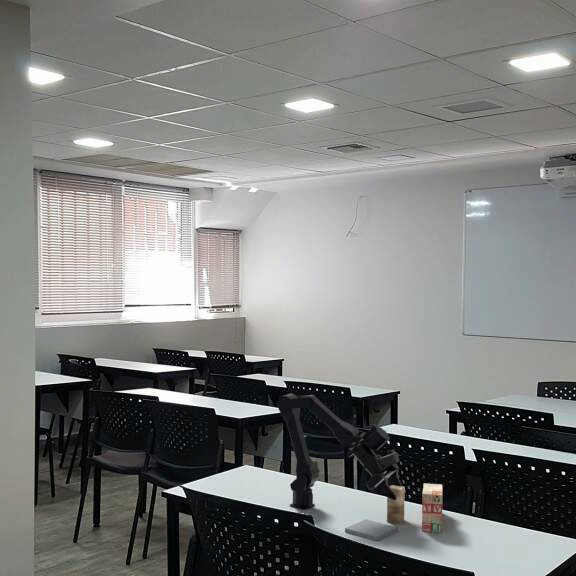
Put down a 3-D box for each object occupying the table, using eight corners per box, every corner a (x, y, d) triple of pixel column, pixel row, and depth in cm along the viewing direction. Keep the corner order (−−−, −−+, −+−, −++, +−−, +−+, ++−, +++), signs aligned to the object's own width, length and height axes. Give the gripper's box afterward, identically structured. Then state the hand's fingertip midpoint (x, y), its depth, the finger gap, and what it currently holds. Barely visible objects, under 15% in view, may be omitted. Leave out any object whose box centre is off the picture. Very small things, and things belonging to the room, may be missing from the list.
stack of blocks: (423, 511, 248) (424, 476, 248) (442, 513, 247) (442, 477, 247) (421, 531, 227) (422, 492, 228) (441, 533, 226) (442, 494, 226)
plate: (344, 532, 226) (345, 528, 226) (366, 522, 235) (366, 519, 235) (377, 540, 218) (377, 536, 218) (398, 531, 227) (398, 527, 227)
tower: (386, 521, 237) (387, 488, 237) (391, 517, 241) (391, 485, 241) (400, 523, 235) (400, 490, 235) (404, 519, 239) (404, 486, 239)
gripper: (375, 448, 231) (408, 487, 226) (393, 438, 248) (424, 474, 243) (352, 470, 235) (384, 509, 230) (371, 459, 251) (401, 494, 247)
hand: (399, 496), depth 237 cm, fingers open, 9 cm apart
